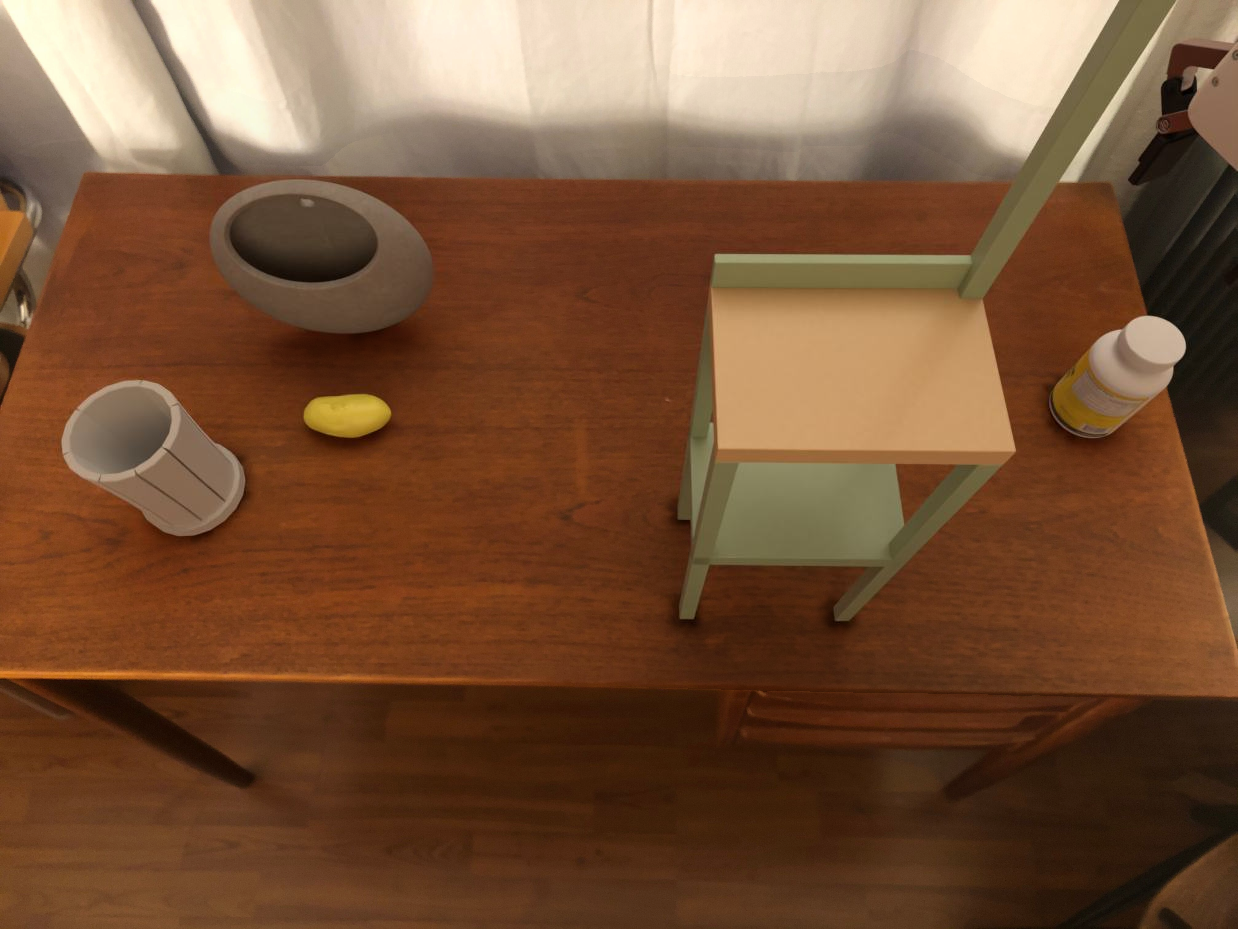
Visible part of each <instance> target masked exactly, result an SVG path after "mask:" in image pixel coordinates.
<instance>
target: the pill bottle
mask: <svg viewBox="0 0 1238 929" xmlns="http://www.w3.org/2000/svg"><path fill="white" fill-rule="evenodd" d="M1186 343H1187V342H1186V340H1185V337H1184V335H1183V333H1182V331H1180V329H1179V328H1178V327H1177V326H1176V325H1175V324H1173V323H1172V322H1171V321H1168V320H1166V319H1164V318H1162V317H1159V316H1153V315H1142V316H1138V317H1135V318H1134V319H1132V320H1131V321H1130V322H1129V323H1127V324H1126V325H1125V326H1124V327H1123V328H1122V329H1116V330H1112V331H1109V332H1107V333H1105V334H1103V335H1102V336H1100V337H1099V338H1098V339H1097V340H1096V341H1095V342H1094V343H1093V344H1091V346H1090V347H1089V348H1088V349H1087V351H1086V352H1085V353H1084V354H1083V355H1081V357H1080V358H1079V359H1078V360H1077V361H1076V363H1075V364H1074V365H1072V367H1071V368H1070V369H1069V370H1068V371H1067V372H1066V373H1065V374H1064V375H1063V376H1062V377H1061V379H1060V380H1058V382H1057V383H1055V385H1054V386H1053V388H1052V389H1051V391H1050V394H1049V399H1048V400H1049V402H1048V405H1049V409H1050V412H1051V414H1052V416H1053V418H1054V420H1055V421H1056V422H1057V423H1058V424H1059V425H1060V426H1061V428H1063V429H1064V430H1065V431H1066V432H1069V433H1070V434H1073V435H1075V436H1078V437H1081V438H1087V439H1098V438H1104V437H1106V436H1109V435H1110V434H1112V433H1114V432H1115V431H1116V430H1118V428H1120V427H1121V426H1122V425H1123V424H1125V422H1127V421H1128V420H1130V418H1132V417H1133V416H1134V415H1136V413H1138V412H1140V410H1142V408H1143V407H1145V406H1146V405H1147V404H1148V403H1149V402H1150V401H1151V400H1153V399H1155V397H1156V396H1158V395H1159V394H1160V393H1161V392H1163V391H1164V390H1165V389H1166V388H1167V387H1168V385H1169V384H1170V382H1171V380H1172V378H1173V375H1174V366H1175V365H1176V364H1177V363H1178V362H1180V360H1181V359H1182V358H1183V357H1184V355H1185V353H1186V350H1187V344H1186Z"/></svg>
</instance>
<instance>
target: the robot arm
mask: <svg viewBox="0 0 1238 929" xmlns="http://www.w3.org/2000/svg"><path fill="white" fill-rule="evenodd" d="M1199 68H1200V69H1201V68H1202V69H1206V70H1212V71H1211V73H1210V74H1209V75H1208V76H1207V77H1206V79H1204V81H1203V82H1202V84H1201V85H1200V87H1199V88H1198V79H1197V76H1196V73H1198V69H1199ZM1165 72H1166V74H1165V75H1166V79H1165V80H1164V81H1163V82H1162V84H1161V86H1160V107H1161V108H1160V109H1161V116H1159V117H1158V118H1157V119H1156V121H1155V130H1156V131H1157V133H1156V134H1155V135H1154V137H1153V138H1152V140H1151V141H1150V142H1149V143H1148V144H1147V146H1146V147H1145V149H1144V150H1143V151H1142V152H1141V154H1140V155H1139V157H1138V159H1137V161H1138V165H1137V166H1136V167H1135V169H1134V170H1133V171H1132V173H1131V174H1130V176H1128V179H1127V181H1128V182H1129V183H1130V184H1131V186H1136V187H1138V186H1141V185H1144V184H1146V183H1149V182H1152V181H1154V180H1157V179H1159V178H1162V177H1164V176H1167V175H1168V174H1169V173H1170V172H1172V170H1173V169H1174V168H1175V166H1176V165H1177V164H1178V163H1179V161H1180V160H1181V159H1182V158H1183V156H1184V155H1185V154H1186V152H1188V150H1189V149H1190V147H1192V145H1193V144H1194V143H1195V141H1196V140H1197V139H1198V138H1199V137H1202V138H1203V140H1205V142H1206V143H1208V144H1209V145H1210V147H1211V148H1213V150H1215V151H1216V152H1217V153H1218V154H1219V155H1220V157H1222V158H1223V159H1224V160H1225V161H1226V162H1227V163H1228V164H1229V165H1230V166H1231V167H1232V168H1233V169H1234V170H1235V171H1236V172H1238V41H1237V42H1236V43H1234V42H1227V41H1220V40H1213V39H1205V38H1198V37H1192V38H1188V39H1185V40H1183V41H1180V42H1177V43H1175V44H1174V45H1172V47H1171V50H1170V55H1169V59H1168V64H1167V68H1166V71H1165ZM1223 278H1224V280H1223V282H1225V283H1226V285H1227V286H1229V287H1234V286H1236V285H1238V263H1237V264H1236V265H1234V267H1233V268H1232V269H1231V270H1230V271H1229V272H1227V274H1226V275H1224V277H1223Z"/></svg>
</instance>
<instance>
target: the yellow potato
mask: <svg viewBox="0 0 1238 929" xmlns="http://www.w3.org/2000/svg"><path fill="white" fill-rule="evenodd" d="M302 416H303V421H304V423H305V425H306V426H307V427H308V428H310V429H311V430H313V431H316V432H319V433H321V434H325V435H327V436H333V437H338V438H346V439H347V438H348V439H349V438H350V439H352V438H353V439H354V438H361V437H363V436H367V435H369V434H371V433H373V432H377V431H378V430H380V429H382V428H383V427H385V426H386V424H388V422H389V421H390V419H391V417H392V409H391V408H390V407H389V405H388V404H387V403H386V402H385V401H384V400H383V399H381V398H380V397H377V396H375V395H373V394H367V393H357V394H356V393H354V394H352V393H351V394H343V395H333V396H332V395H330V396H329V395H328V396H318V397H315V398H313V399H312V400H310V401H309V403H308V404H307V405H306V407H305V408H304V410H303V414H302Z"/></svg>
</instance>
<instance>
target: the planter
mask: <svg viewBox="0 0 1238 929" xmlns="http://www.w3.org/2000/svg"><path fill="white" fill-rule="evenodd" d="M306 198H307V199H306ZM209 248H210V253H211V256H212V259H213V262H214V264H215V266H216V268H217V270H218V271H219V273H220V276H222V278H223V279H224V280H225V282H226V283H227V284H228V285H229V287H231V289H232V290H233V291H235V293H236V294H238V295H239V296H240V297H241V298H242V299H243V300H245V301H246V302H247V303H249V304H250V305H251V306H253V307H254V308H256V309H257V310H259V311H260V312H262V313H264V314H265V315H267V316H269V317H271V318H273V319H275V320H277V321H280V322H282V323H284V324H287V325H291V326H293V327H298V328H301V329H303V330H309V331H314V332H320V333H328V334H360V333H361V334H362V333H369V332H375V331H378V330H383V329H386V328H389V327H392V326H394V325H396V324H399V323H401V322H403V321H405V320H406V319H408V318H410V317H411V316H412V315H413V314H415V313H416V312H417V311H418V310H419V309H420V308H421V307H422V306H423V305H424V303H425V302H426V301H427V300H428V298H429V296H430V294H431V291H432V289H433V285H434V278H435V267H434V262H433V258H432V255H431V252H430V250H429V247H428V245H427V244H426V242H425V240H424V239H423V237H422V236H421V234H420V233H419V231H417V229H416V228H415V226H413V224H411V223H410V221H409V220H408V219H407V218H405V216H403V215H402V214H401V213H400V212H398V211H397V210H396V209H394V208H392V207H391V206H390V205H388V204H387V203H385V202H383V201H382V200H380V199H378V198H376V197H374V196H372V195H370V194H368V193H365V192H364V191H361V190H358V189H355V188H353V187H349V186H347V185H342V184H340V183H339V184H338V183H334V182H330V181H326V180H325V181H323V180H316V179H305V178H303V179H302V178H298V179H297V178H296V179H295V178H294V179H280V180H273V181H268V182H263V183H260V184H256V185H252V186H251V187H248V188H246V189H243V190H241V191H239V192H238V193H236V194H234V195H233V196H231V197H230V198H228V199H227V200H226V201H225V202H224V203H223V204H221V205H220V207H219V208H218V209H217V211H216V212H215V215H214V216H213V219H212V221H211V224H210V228H209Z"/></svg>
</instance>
